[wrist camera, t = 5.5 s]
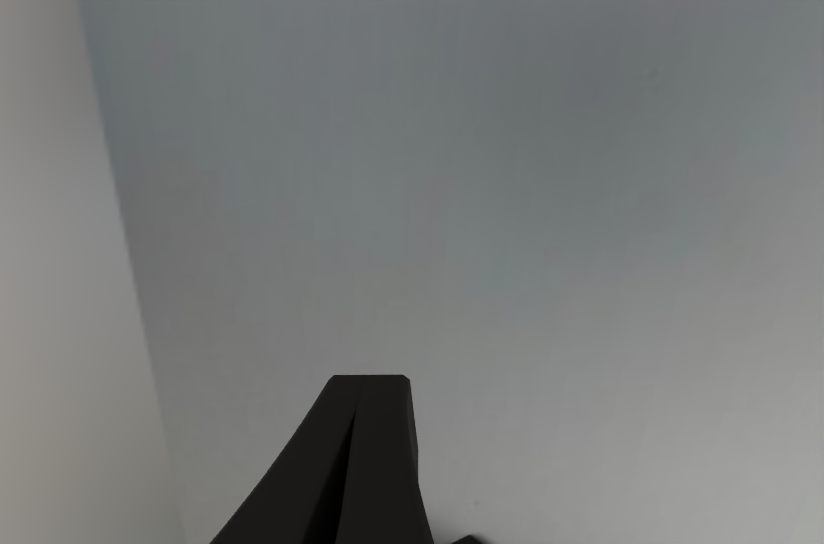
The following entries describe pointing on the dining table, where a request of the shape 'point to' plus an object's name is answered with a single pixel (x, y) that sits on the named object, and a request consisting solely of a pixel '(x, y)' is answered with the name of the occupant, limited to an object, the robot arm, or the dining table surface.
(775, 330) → the dining table surface
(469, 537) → the bracket
